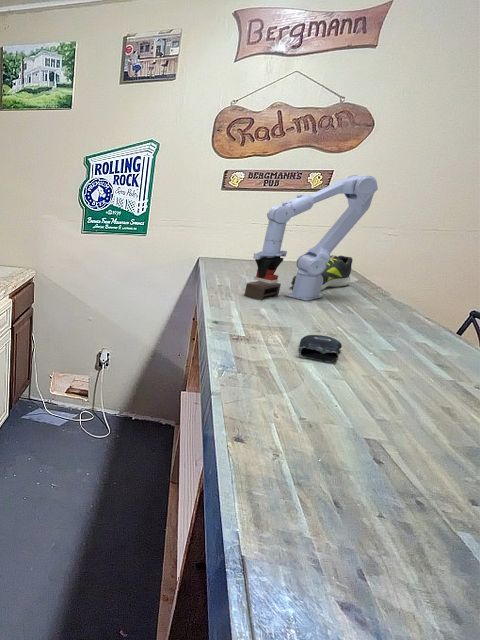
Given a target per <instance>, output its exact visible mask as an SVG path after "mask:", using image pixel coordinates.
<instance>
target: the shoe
mask: <svg viewBox="0 0 480 640" xmlns="http://www.w3.org/2000/svg"><path fill="white" fill-rule="evenodd" d="M253 280H254V281H262V282H266V283H279V275H278V274H275V273H274V270H269V269H267V272H266V275H265V277H264V278H260V277H258V269H257V270H256V274H255V276H254V277H253Z"/></svg>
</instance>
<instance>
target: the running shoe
mask: <svg viewBox="0 0 480 640" xmlns="http://www.w3.org/2000/svg"><path fill="white" fill-rule="evenodd" d="M352 264H353V258H352V257H351V256H345V255H334V254H333V255H332V254H331V255H330V261H329V262H328V263H327V265H326V268H325V270H324V271H323V272H322V273H321V274H320V275H322V277H323V284H322V287H321V291H324V290H325V289H326V288H327V287H329V288H338V287H346V286H348V285H349V284H350V281H351V277H350V276H351V272H352ZM295 279H296V275H294V276H293V277H292V280H291V282H290V283H291V286H294V283H295Z"/></svg>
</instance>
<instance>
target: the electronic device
mask: <svg viewBox="0 0 480 640" xmlns="http://www.w3.org/2000/svg"><path fill="white" fill-rule="evenodd" d="M342 346H343V345H342V343H341V342H340V340H338V339H336V338H334V337H332V336H329V335H322V334H308V335H304V336H303V337H302V338H301V339H300V341H299V348H297V351H298V355H299V358H304V359H310V360H317V361H320V362H325V363H332V362H334V361H335V360H338V359H339V353H340V350H341V349H342Z"/></svg>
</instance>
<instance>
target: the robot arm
mask: <svg viewBox="0 0 480 640" xmlns="http://www.w3.org/2000/svg"><path fill="white" fill-rule="evenodd" d="M378 190H379V187H378V182H377V179H376V177H374V176H372V175H358V174H352V175H349V176H347V177H344V178H341V179H339V180H337V181H336V182H334V183H331V184H329V185H328V186H325V187H323V188H321V189H320V190H317V191H315V192H313V193H312V194H308V193H304V194H302V193H298V194H296V197H295V198H292V199H290V200H288V201H285V200H284V201H283V202H282V204H281V205H279V204H276V205H273V206H272V207H271V208H270V209H269V210H268V212H267V213H266V217H267V220H268V223H267V226H266V231H265V236H264V241H263V245H262V250H261V251H259V252H254V253H253V256H252V259H253V260H254V262H255V263H256V266H257V270H258V277H260V278H264V277H265V275H266V272H267V269H269V270H274V274H275V273H276V271H277V269H278V267H280V265H281V264H282V263H283V261H284V259H285V258H284V257H287V255H288V251H287V250H281V249H282V244H283V241H284V235H285V232H286V227H287V224H288V222H289V221H290V220H291V219H292V218H293V217H296V216H298V215H300V214H303V213H305V212H307V211H309V210H311V209H312V208H313V206H314V205H315V204H317V203H320V202H322V201H324V200H326V199H329V198H332V197H334V196H336V195H340V194H343V195H344V196H345V198H346V199H347V204H348V207H347V208H346V209H345V210H344V212H343V213H342V214H341V215H340V217H339V218H338V219H337V220H336V221H335V222H334V223H333V225H332V226H331V227H330V228H329V229H328V231H327V232H326V233H325V234H324V235H323V236H322V238H321V239H320V240H319V241H318V242H317V243H316V245H314V246H312V247H310V248H309V249H308V250H307V251H306V252H305V253H303V254H301V255H300V256H299V257H298V258H297V260H296V262H295V265H296V268H297V272H296V275H295V276H296V279H295V283H294V285H293V287H292V291H291V293H288V294H286V295H285V296H286V297H290V298H294V299H296V300H297V299H298V300H302V301H307V302H308V301H312V300H316V299H321V298H322V296H321V295H320V294H321V291H322V290H321V287H322V284H323V277H322V275H320V274H321V273H322V272H323V271H324V270H325V268H326V265H327V263H328V262H329V261H330V256H331V254H332V252H333V251H334V250H335V248H337V246H338V245H339V244H340V243H341V242H342V241H343V240H344V238H345V237H346V236H347V235H348V233H349V232H350V231H351V230H352V229H353V228H354V227H355V225H356V224H357V223H358V222H359V220H360V219H361V218H362V217H363V216H364V215H365V214H366V212H367V211H368V210H369V209H370V207H371V205H372V201H373V197H374V195H375V193H376V192H377V191H378Z"/></svg>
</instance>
